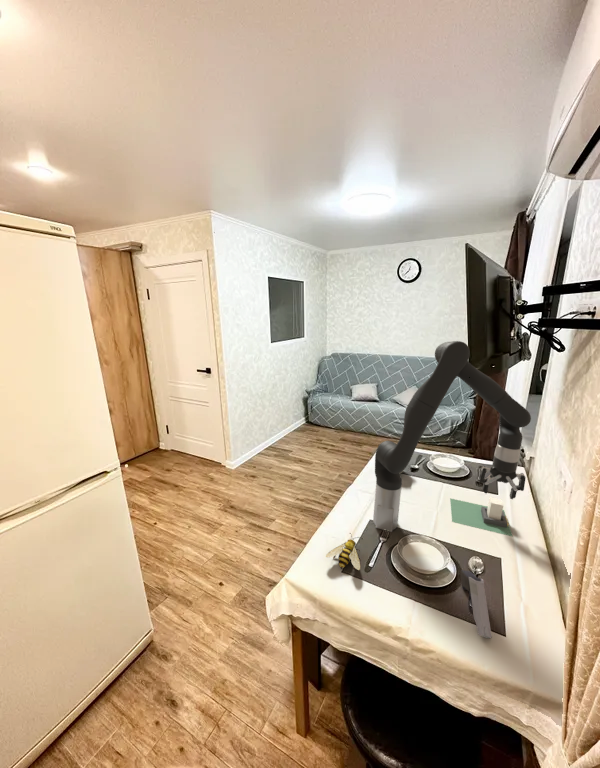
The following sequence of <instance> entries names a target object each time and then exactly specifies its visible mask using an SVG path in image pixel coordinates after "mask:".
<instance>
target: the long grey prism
mask: <svg viewBox="0 0 600 768" xmlns="http://www.w3.org/2000/svg"><path fill="white" fill-rule="evenodd" d="M460 580H461V588H462V590H465V591H468V594H469V602H470V605H471V607H472V613H473V620H474V621H475V624H476V629H477V630H476V631H477V635H478V636H481V637H482V638H487V639H491V638H492V637H493V636H492V629H491V623H490V618H489V617H490V616H489V611H488V610H489V609H488V603H487V597H486V590H485V583H484V579H483V578H480V577H477V576H476V575H475V574H474V573H473V572H472V571H470V570H463V569H461V570H460Z"/></svg>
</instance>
